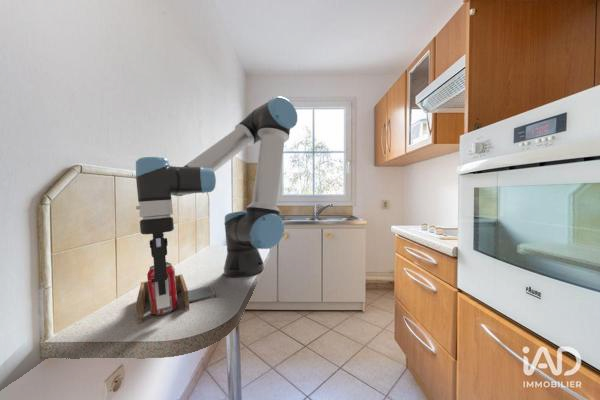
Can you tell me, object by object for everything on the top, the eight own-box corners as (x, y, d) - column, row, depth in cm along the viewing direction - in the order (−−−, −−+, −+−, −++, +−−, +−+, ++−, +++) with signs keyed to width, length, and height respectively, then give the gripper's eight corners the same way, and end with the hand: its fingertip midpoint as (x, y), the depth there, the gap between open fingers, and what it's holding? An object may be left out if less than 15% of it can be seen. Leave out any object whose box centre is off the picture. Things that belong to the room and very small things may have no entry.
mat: (209, 287, 79) (209, 285, 79) (215, 296, 71) (215, 294, 71) (186, 293, 75) (185, 291, 75) (189, 303, 68) (188, 300, 68)
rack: (183, 289, 79) (182, 274, 79) (189, 309, 63) (187, 290, 63) (142, 298, 73) (141, 282, 73) (138, 323, 58) (136, 302, 58)
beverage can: (165, 304, 68) (162, 262, 68) (183, 306, 66) (179, 262, 65) (144, 315, 62) (140, 268, 62) (163, 318, 60) (159, 269, 60)
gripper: (142, 217, 72) (148, 288, 73) (135, 221, 51) (143, 322, 51) (170, 214, 76) (176, 282, 76) (175, 217, 54) (183, 311, 55)
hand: (163, 298), depth 64 cm, fingers open, 13 cm apart
